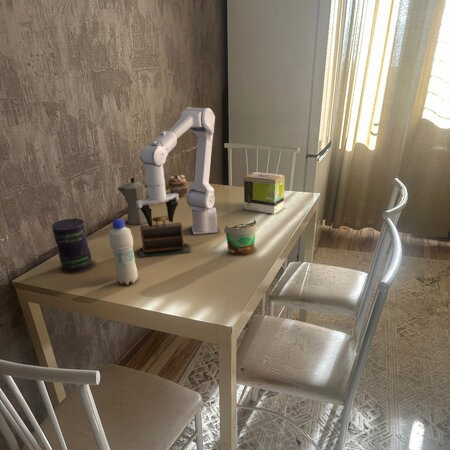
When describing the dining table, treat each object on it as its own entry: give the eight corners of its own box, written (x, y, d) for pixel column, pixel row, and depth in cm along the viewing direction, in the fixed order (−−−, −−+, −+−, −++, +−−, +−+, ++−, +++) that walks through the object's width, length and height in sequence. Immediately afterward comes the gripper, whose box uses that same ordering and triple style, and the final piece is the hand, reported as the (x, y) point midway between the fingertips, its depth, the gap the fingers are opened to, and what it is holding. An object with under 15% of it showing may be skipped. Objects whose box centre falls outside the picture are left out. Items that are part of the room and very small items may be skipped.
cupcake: (167, 197, 202) (165, 176, 197) (172, 191, 210) (170, 171, 205) (186, 197, 201) (184, 177, 196) (190, 192, 209) (189, 172, 204)
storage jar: (76, 275, 132) (65, 231, 125) (56, 269, 137) (44, 226, 129) (99, 263, 139) (90, 221, 132) (79, 257, 144) (69, 216, 136)
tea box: (284, 208, 183) (285, 174, 176) (274, 214, 176) (275, 179, 168) (254, 203, 190) (254, 170, 183) (243, 209, 183) (243, 175, 176)
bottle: (118, 277, 130) (107, 216, 120) (140, 275, 131) (131, 215, 121) (115, 287, 125) (103, 224, 114) (138, 285, 125) (128, 223, 115)
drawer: (183, 248, 145) (180, 216, 141) (143, 252, 143) (139, 220, 139) (182, 245, 150) (179, 213, 145) (143, 248, 148) (139, 217, 143)
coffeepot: (125, 227, 169) (117, 182, 160) (120, 220, 176) (113, 177, 167) (161, 221, 174) (156, 177, 164) (155, 214, 181) (150, 172, 172)
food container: (233, 259, 139) (232, 231, 134) (224, 253, 144) (223, 226, 138) (264, 252, 144) (264, 224, 138) (255, 245, 148) (255, 219, 143)
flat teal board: (188, 252, 145) (188, 249, 145) (139, 257, 143) (139, 254, 142) (187, 245, 151) (186, 242, 150) (139, 249, 148) (139, 247, 148)
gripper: (170, 178, 142) (174, 216, 149) (130, 185, 135) (136, 224, 142) (180, 182, 136) (183, 221, 143) (139, 190, 130) (144, 231, 137)
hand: (160, 223), depth 142 cm, fingers open, 7 cm apart
